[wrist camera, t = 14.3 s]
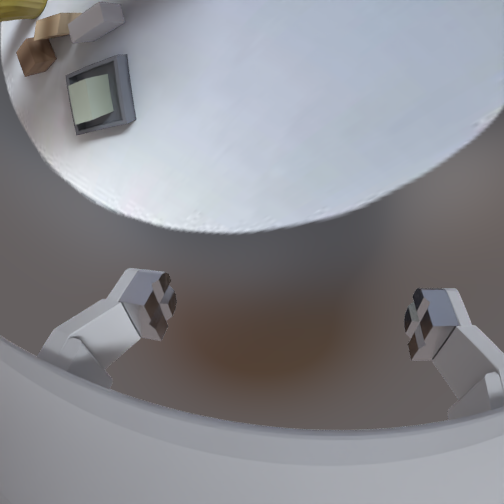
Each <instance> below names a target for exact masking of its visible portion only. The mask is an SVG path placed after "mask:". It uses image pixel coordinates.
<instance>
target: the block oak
mask: <svg viewBox="0 0 504 504" xmlns="http://www.w3.org/2000/svg"><path fill="white" fill-rule="evenodd" d="M81 14H82V13H59V14H56V15H53V16H50V17H47V18H44V19H41V20H38V21H36V27H35V35H34V41H36V40H42V39H50V38H56V37H61V36H65V35H70V32H69V28H68V24H69V23H70V22H72V21H73V20H74V19H75V18H77V17H78V16H79V15H81Z"/></svg>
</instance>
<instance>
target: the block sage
mask: <svg viewBox="0 0 504 504" xmlns="http://www.w3.org/2000/svg"><path fill="white" fill-rule="evenodd" d="M68 88H69V94H70V100H71V105H72V111H73V116H74V121H75V125H76V124H80V123H83V122H87V121H90V120H93V119H96V118H98V117H100V116H103V115H105V114H108V113H110V112H113V105H112V99H111V93H110V86H109V79H108V74H105V75H100V76H95V77H91V78H86V79H84V80H81V81H79V82H76V83H74V84H71V85H69V86H68Z"/></svg>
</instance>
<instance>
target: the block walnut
mask: <svg viewBox="0 0 504 504" xmlns="http://www.w3.org/2000/svg"><path fill="white" fill-rule="evenodd" d="M16 54H17V56H18V59H19V62H20V65H21V67H22V70H23V73H24V75H25V77H27V76H30V75H34V74H37V73H41V72H45V71H46V70H47V69H48V68H49V67H50V66H51V65H52V63H53V62H54V61H55V60H56V56H55V54H54V52H53V49H52V47H51V44H50V42H49V39H42V40H36V41H34V38H28V39H26V40H25V41H24V42H23V44H22V45H21V46H20V48H19V49H18V51H17V52H16Z"/></svg>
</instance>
